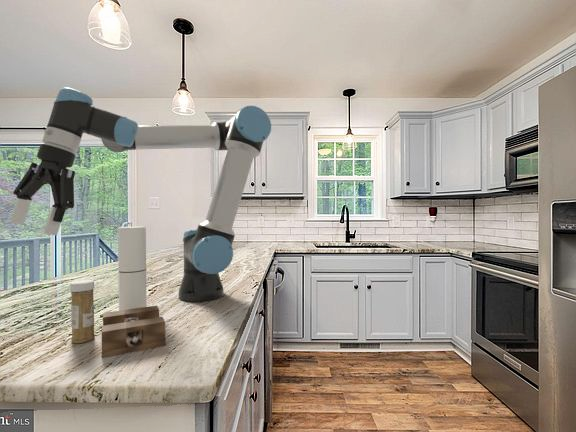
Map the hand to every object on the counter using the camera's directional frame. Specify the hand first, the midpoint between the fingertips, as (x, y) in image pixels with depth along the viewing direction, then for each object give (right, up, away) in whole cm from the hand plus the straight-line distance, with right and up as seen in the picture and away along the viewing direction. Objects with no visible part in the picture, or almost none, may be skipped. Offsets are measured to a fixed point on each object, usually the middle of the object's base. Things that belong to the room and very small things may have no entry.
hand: (32, 229), depth 78 cm
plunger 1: (+25, -24, -1) cm, 35 cm away
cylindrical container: (+19, -25, +12) cm, 34 cm away
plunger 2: (+31, -24, -11) cm, 40 cm away
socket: (+28, -25, -6) cm, 38 cm away
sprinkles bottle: (+17, -25, -6) cm, 31 cm away
